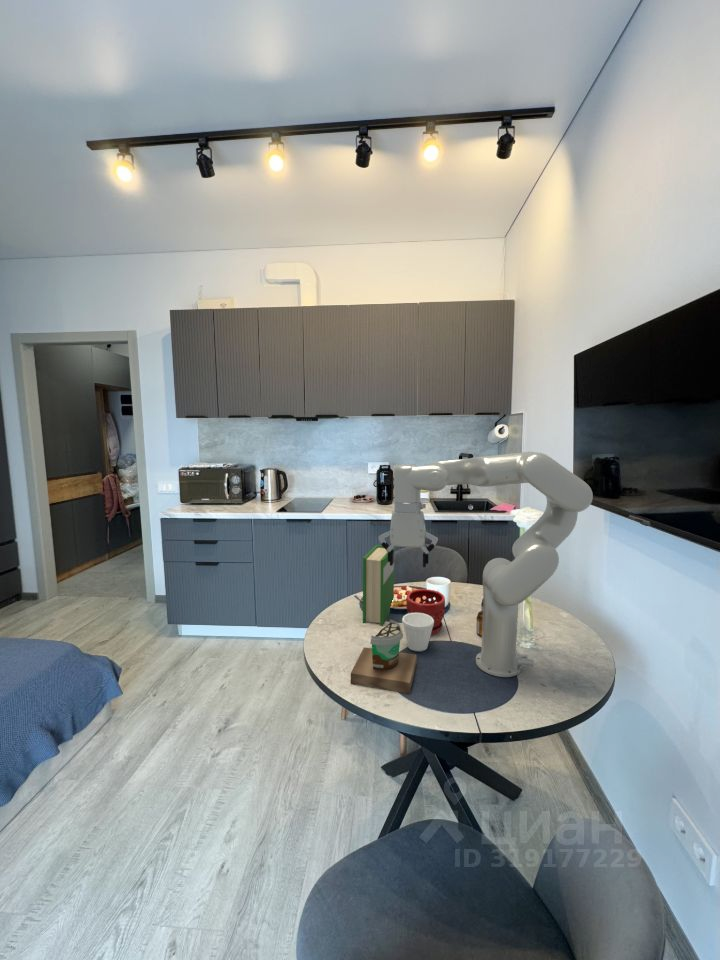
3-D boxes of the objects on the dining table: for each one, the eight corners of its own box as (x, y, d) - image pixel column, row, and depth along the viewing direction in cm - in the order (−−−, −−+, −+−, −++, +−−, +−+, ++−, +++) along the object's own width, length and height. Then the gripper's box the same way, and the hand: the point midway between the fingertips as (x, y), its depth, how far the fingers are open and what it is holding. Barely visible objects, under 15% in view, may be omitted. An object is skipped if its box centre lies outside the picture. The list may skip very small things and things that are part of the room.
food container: (390, 678, 107) (391, 642, 106) (370, 671, 110) (370, 636, 109) (409, 656, 118) (410, 623, 117) (390, 650, 121) (390, 618, 120)
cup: (424, 637, 135) (425, 610, 134) (439, 652, 126) (439, 624, 125) (396, 641, 132) (397, 614, 131) (409, 657, 123) (410, 628, 122)
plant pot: (404, 620, 148) (405, 588, 146) (441, 620, 147) (441, 588, 146) (407, 637, 135) (408, 603, 134) (447, 638, 134) (448, 603, 133)
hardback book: (382, 626, 143) (383, 559, 140) (362, 623, 145) (363, 557, 143) (393, 606, 160) (394, 546, 157) (375, 603, 162) (375, 545, 159)
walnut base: (416, 664, 119) (416, 654, 119) (409, 693, 106) (409, 682, 105) (363, 656, 123) (363, 647, 123) (350, 683, 110) (350, 673, 109)
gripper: (438, 505, 119) (438, 562, 121) (380, 504, 123) (381, 559, 125) (437, 510, 111) (437, 570, 113) (375, 509, 116) (376, 567, 117)
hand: (408, 565), depth 119 cm, fingers open, 9 cm apart
